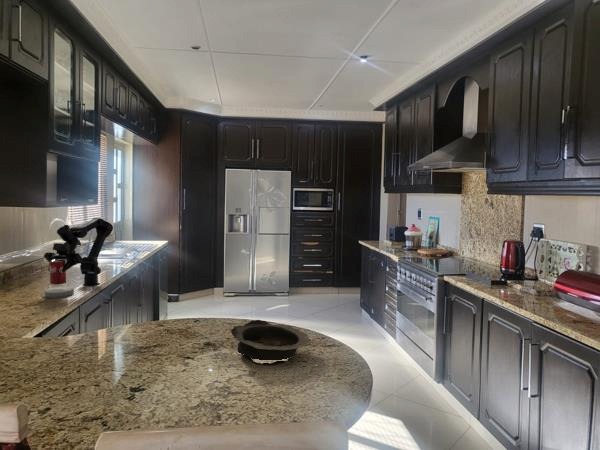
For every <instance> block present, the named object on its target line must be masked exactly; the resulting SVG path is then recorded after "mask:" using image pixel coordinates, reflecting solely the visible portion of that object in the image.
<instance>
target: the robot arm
mask: <svg viewBox="0 0 600 450" xmlns="http://www.w3.org/2000/svg"><path fill="white" fill-rule="evenodd" d="M93 229H95V230H96V236H95V239H94V242H93V244H92V246H91V249H90V251H89V253H88V256H83V257H82V256H81V254H80V253H79V252H76V249H77V247H78V246H82V243H81V241H80V239H84V238H85V237H86V236H88V233H89V232H90V231H91V230H93ZM113 230H114V226H113V224H112V223H110V222H109V221H107V220H104V219H103V218H101V217H93V218H92V219H90V220H89V221H87V222H85V223H83V224H82V225H77V226H71V227H70V226H69V224H64V225H63V226H61V227H59V228H58V229H57V230H56V234H57V236H59V237H60V239H61V240H62V241H63V243H62V242H61V243H60V242H59V243H58V242H54V243H53V246H52V250H53V251H56V252H55V253H54V252H52V251H51V252H49V251H48V252H45V253H44V254H43V257H44V258H45V260H46V261H47V262H48V263H49V262H50V261H51V260H65V261H66V264H65V266H64V268H63V270H62V272H65V271H66V272H67V271H68V270H69V269H71V268H73V267H74V266H76V265H78V264H79V269H80V272H81V275H84V278H83V283H82V285H83V286H88V287H89V286H90V287H92V286H97V285H100V284H101V283H100V282H99V275H100V274H101V271H102V270H101V267H100V266H99V260H98V258H99V255H100V253H101V250H102V249H103V246H104V243H105V241H106V238H108V237H109V236H110V235H111V234H112V232H113ZM47 270H48V272H49V273H50V270H49V268H48V269H47Z"/></svg>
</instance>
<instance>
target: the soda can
mask: <svg viewBox="0 0 600 450" xmlns="http://www.w3.org/2000/svg"><path fill="white" fill-rule="evenodd" d="M66 262H67V260H62V259H58V260H51V261H50V262H48V269H49V270H50V272H49V285H51V286H62V285H66V284H67V270H66V271H65V272H62V270H63V268H64V266H65V264H66Z"/></svg>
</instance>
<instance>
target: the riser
mask: <svg viewBox="0 0 600 450" xmlns="http://www.w3.org/2000/svg"><path fill="white" fill-rule="evenodd" d="M74 292H75V290H74V288H73V287H71V286H57V287H51V288H50V287H49V288H46V289H45V290H44V298H46V299H59V298H60V299H61V298H68V297H71V296H74V294H75V293H74Z"/></svg>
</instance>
